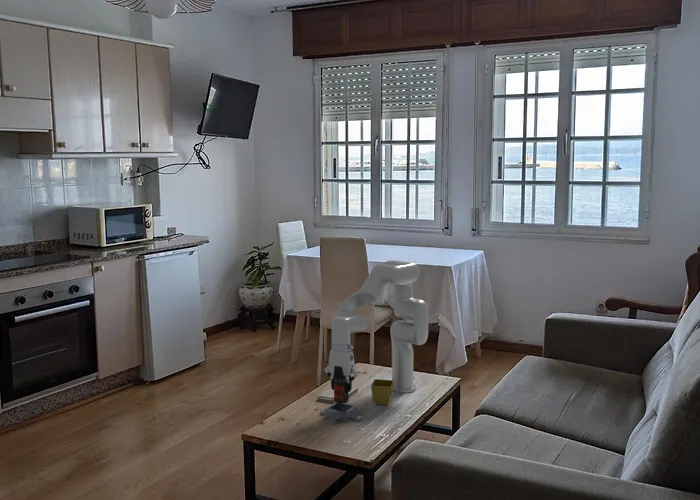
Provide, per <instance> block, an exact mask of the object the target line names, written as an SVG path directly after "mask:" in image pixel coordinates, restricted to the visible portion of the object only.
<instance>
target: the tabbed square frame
mask: <svg viewBox="0 0 700 500" xmlns="http://www.w3.org/2000/svg"><path fill="white" fill-rule="evenodd" d="M358 411H359V405H357V404H351V403H348V402H347V403H336V402H335V403H331V404H330V405H329V406H327V407H326V408H323V409H322V410H320V415H323V416H324V417H323V419H325V420H326V424H328V425H332V426H334V425H335V424H338V422H339V423H344V424H347V423H349V422H350V421H352V422H358V423H360V422H361V421H363V416H361V415H359V412H358Z"/></svg>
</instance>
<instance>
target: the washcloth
mask: <svg viewBox="0 0 700 500" xmlns="http://www.w3.org/2000/svg"><path fill="white" fill-rule="evenodd" d="M358 389H359V388H357V387H352V389H351V391H350V392H349V399H350V398H352V397H353V396H355V395H356V394H357V393H358V391H359V390H358ZM317 398H318V399H317V401H320V402H323V403H329V404H333V403H335V402H334V390H332V387H330V388H329V389H328V388H327V390H325V391H324V392H322V393H320V394H318V396H317Z"/></svg>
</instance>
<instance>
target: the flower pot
mask: <svg viewBox="0 0 700 500" xmlns="http://www.w3.org/2000/svg"><path fill="white" fill-rule="evenodd" d="M393 385H394V380H392V379H380V378H379V379H377V378H375V379H373V382H372V383H371V386H370V389H371V397H372V400H373V402H374V404H375V405H381V406H388V405H389V403H390V401H391V398H392V396H393V392H394V391H393Z"/></svg>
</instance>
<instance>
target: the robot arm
mask: <svg viewBox="0 0 700 500" xmlns="http://www.w3.org/2000/svg"><path fill="white" fill-rule="evenodd" d="M419 276H420V268H419V266H418V265H417V264H416V263H414V262H410V261H401V260H386V261H385V262H384V263H378V264H376V265H374V266H373V267H372V269H371V271H370V272H369V274H368V276H367V278H366V279H365V281H364V282H363V284H362V286H361V287H360V289H359V290H357V291H355V292H354V293H352V294H350V295H349V296H348V297H346V298H345V299H344V300H343V301H342V302H341V304H339V307H338V308H337V310H336V312H335V315H334V316H333V317H332V319H331V349H330V351H329V357H328V365H327V366H326V367H325V368H324V369H323V370H324V372H325V374H326V375H327V376H328V377H329V380H330V388H332V390H334V366H338V367H342V369H343V374H344V376H345V377H346V380H347V383H346V392H347V393H348V392H350V391H351V389H352V388H353V384H352V383H353V381H354V380H355V379H356V378H357V377H358V376H359V375H360V374H359V372H357V370H356V366H355V364H356V363H355V357H354V356H355V355H354V352H353V349H354V346H353V345H352V343H351V334H354V333H355V334H356V333H361V332H363V331H364V330H366V329H367V327H368V324H369V323H368V319H367V317H366V316H365V315H363V314H361V313H358V312H357V313H356V312H353V311H354V310H356V309H357V308H360V307H362V306H366V305H369V304H372V303H376V302H377V301H379V298H380V296H381V294H382V293H383V291H384V289H385V288H386V287H387V285H388V286H392V288H393V312H394V315H395V316H396V317H397V318H401V320H398V319H397V320H395V321H394V322H393V323H392V324H391V325H390V329H389V332H390V333H389V334H390V339H391V347H392V352H391V353H392V354H391V355H392V356H391V357H392V358H391V361H392V363H391V368H392V369H391V372H392V373H391V380H394V385H393V392H395V393H398V394H399V393H401V394H402V393H403V394H406V393H408V394H409V393H412V392H415V391H416V390H417V385H416V384H415V383H414V380H415V378H416V376H415V375H414V349H413V345H417V346H423V345H424V344H425V343H426V342H427V341H428V336H429V307H428V304H427V302H426V301H424V300H422V299H420V298H414V292H413V291H414V290H413V288H414V287H413V284H412V283H414V282H416V281H417V280H418V278H419ZM402 319H405V320H402ZM408 320H409V321H408ZM352 374H353V375H352Z"/></svg>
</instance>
